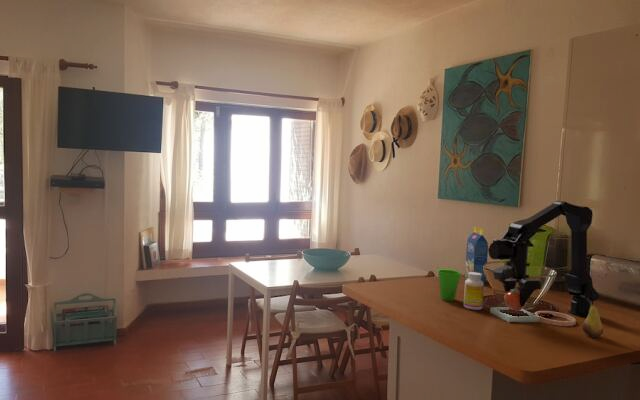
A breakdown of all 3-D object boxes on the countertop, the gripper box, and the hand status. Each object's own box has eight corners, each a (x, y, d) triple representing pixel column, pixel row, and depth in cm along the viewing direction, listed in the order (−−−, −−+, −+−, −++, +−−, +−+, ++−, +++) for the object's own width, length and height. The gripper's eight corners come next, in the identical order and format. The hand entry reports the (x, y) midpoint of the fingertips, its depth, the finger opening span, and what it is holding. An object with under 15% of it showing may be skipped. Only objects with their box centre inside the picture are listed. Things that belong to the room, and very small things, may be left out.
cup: (432, 295, 192) (434, 268, 191) (454, 296, 193) (456, 269, 192) (440, 302, 183) (442, 273, 182) (463, 302, 184) (465, 274, 183)
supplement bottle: (483, 311, 173) (485, 276, 172) (464, 309, 174) (466, 274, 174) (480, 306, 179) (483, 272, 179) (462, 304, 181) (464, 270, 180)
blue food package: (472, 283, 219) (475, 229, 218) (464, 277, 231) (467, 226, 230) (485, 283, 219) (489, 229, 218) (477, 278, 231) (480, 226, 230)
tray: (518, 312, 174) (518, 307, 174) (539, 322, 163) (539, 316, 162) (490, 312, 171) (490, 307, 171) (508, 322, 160) (509, 317, 160)
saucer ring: (557, 314, 173) (558, 310, 173) (583, 325, 161) (583, 321, 161) (526, 314, 171) (527, 311, 171) (550, 326, 158) (551, 322, 158)
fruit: (594, 340, 146) (598, 301, 146) (578, 334, 151) (581, 296, 151) (607, 338, 148) (610, 300, 148) (590, 332, 154) (593, 295, 153)
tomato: (520, 313, 162) (521, 290, 161) (499, 308, 167) (500, 285, 167) (530, 310, 166) (531, 287, 166) (509, 305, 172) (511, 283, 172)
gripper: (482, 254, 173) (480, 296, 174) (513, 264, 155) (510, 311, 156) (510, 254, 176) (507, 296, 176) (543, 264, 157) (540, 311, 158)
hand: (515, 303), depth 167 cm, fingers closed on tomato, 7 cm apart
